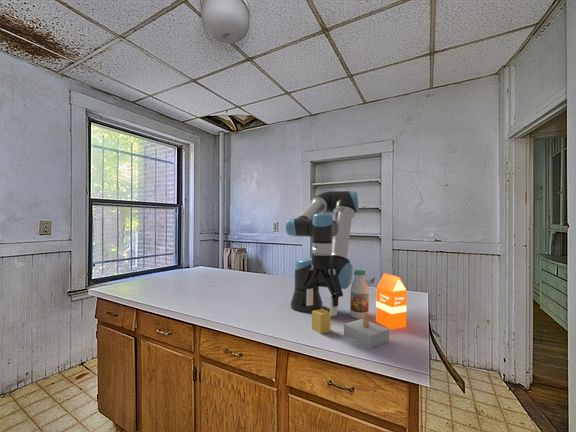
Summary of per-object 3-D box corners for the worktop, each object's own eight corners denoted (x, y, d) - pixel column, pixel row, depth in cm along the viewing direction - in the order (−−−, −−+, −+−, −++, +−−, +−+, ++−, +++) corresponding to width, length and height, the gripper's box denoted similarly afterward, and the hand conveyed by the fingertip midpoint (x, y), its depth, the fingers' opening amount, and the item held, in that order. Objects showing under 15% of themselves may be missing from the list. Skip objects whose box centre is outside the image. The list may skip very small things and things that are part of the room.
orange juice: (391, 329, 107) (392, 277, 107) (375, 321, 115) (376, 273, 115) (406, 326, 110) (407, 276, 110) (390, 318, 118) (390, 272, 118)
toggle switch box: (343, 335, 101) (344, 311, 101) (361, 328, 107) (362, 307, 107) (370, 348, 91) (370, 322, 91) (388, 340, 97) (389, 316, 97)
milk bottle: (347, 313, 124) (348, 268, 124) (364, 312, 125) (365, 268, 125) (353, 319, 116) (354, 272, 117) (371, 319, 117) (371, 272, 117)
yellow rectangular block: (311, 329, 106) (312, 310, 106) (321, 326, 109) (321, 308, 109) (320, 333, 102) (320, 314, 102) (330, 330, 105) (330, 312, 105)
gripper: (294, 251, 113) (293, 303, 113) (338, 258, 93) (337, 321, 93) (309, 250, 118) (308, 300, 117) (353, 257, 97) (352, 317, 97)
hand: (320, 310), depth 105 cm, fingers open, 13 cm apart
